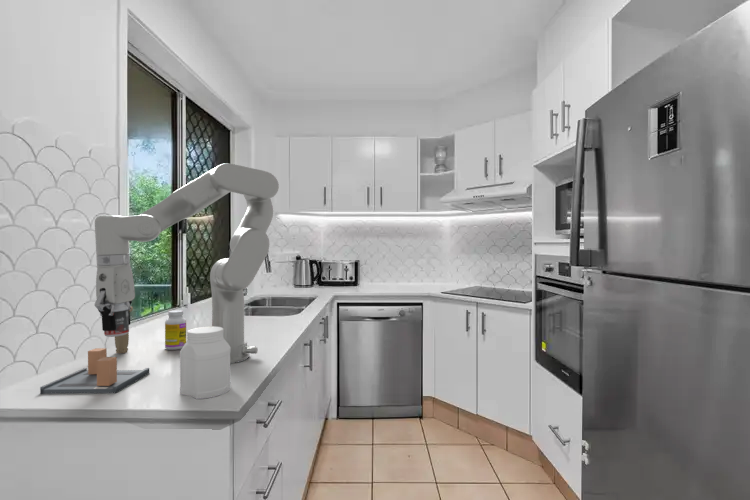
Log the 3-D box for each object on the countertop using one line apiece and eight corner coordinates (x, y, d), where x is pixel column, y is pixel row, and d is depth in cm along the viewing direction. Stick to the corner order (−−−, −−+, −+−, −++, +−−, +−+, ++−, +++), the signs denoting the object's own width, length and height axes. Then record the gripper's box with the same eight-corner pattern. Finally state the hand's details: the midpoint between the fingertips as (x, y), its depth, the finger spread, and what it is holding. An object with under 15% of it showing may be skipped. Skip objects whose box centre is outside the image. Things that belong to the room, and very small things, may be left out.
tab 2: (116, 381, 103) (116, 357, 103) (109, 385, 100) (109, 360, 100) (104, 381, 103) (104, 357, 102) (96, 385, 100) (96, 360, 99)
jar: (173, 392, 99) (172, 330, 99) (206, 381, 107) (206, 324, 107) (204, 401, 93) (204, 336, 93) (237, 388, 101) (237, 328, 101)
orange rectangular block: (106, 370, 111) (106, 348, 111) (99, 374, 108) (99, 351, 108) (95, 370, 111) (95, 348, 111) (88, 374, 108) (87, 351, 108)
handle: (135, 351, 136) (135, 307, 136) (114, 356, 131) (113, 309, 131) (129, 349, 139) (128, 305, 139) (108, 353, 134) (107, 308, 134)
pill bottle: (103, 338, 107) (101, 300, 106) (105, 334, 112) (103, 298, 111) (128, 335, 109) (126, 298, 109) (130, 331, 114) (128, 296, 114)
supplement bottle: (180, 350, 138) (180, 312, 138) (161, 350, 138) (161, 312, 138) (189, 345, 145) (189, 309, 145) (171, 345, 145) (171, 309, 145)
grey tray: (149, 373, 113) (149, 367, 113) (115, 393, 98) (115, 386, 98) (83, 374, 113) (83, 368, 113) (40, 393, 98) (40, 387, 98)
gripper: (107, 263, 101) (110, 334, 102) (144, 259, 118) (148, 320, 119) (76, 264, 101) (80, 336, 102) (118, 260, 118) (122, 321, 119)
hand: (116, 327), depth 110 cm, fingers closed on pill bottle, 5 cm apart
